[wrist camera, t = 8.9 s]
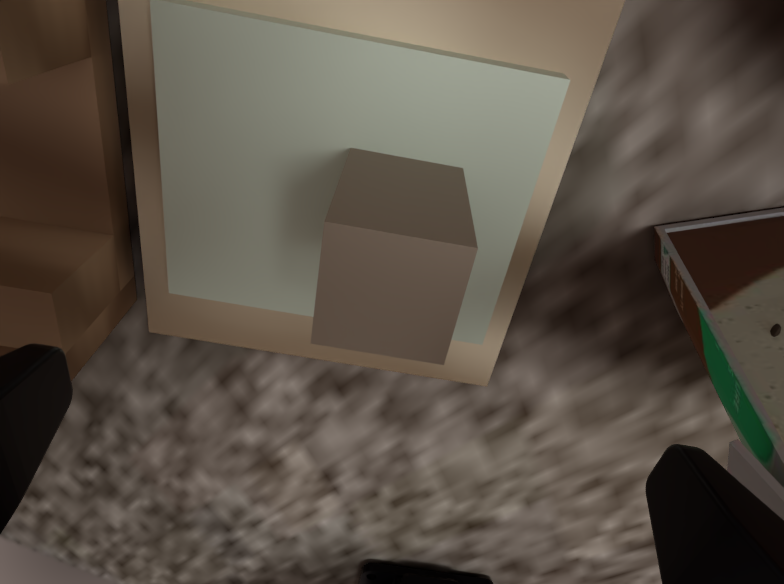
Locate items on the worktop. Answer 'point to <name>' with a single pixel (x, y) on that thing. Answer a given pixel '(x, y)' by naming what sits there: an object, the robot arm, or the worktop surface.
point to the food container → (736, 330)
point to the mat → (404, 24)
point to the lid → (344, 175)
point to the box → (61, 181)
